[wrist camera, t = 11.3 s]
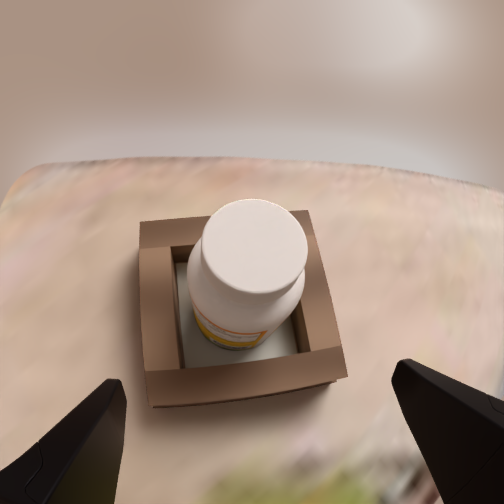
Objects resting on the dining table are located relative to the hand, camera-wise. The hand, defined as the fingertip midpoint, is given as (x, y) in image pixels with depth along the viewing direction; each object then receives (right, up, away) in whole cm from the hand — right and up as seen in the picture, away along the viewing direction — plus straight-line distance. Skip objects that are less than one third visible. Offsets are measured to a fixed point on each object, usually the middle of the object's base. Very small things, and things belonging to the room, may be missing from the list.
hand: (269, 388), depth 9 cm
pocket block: (-2, 0, +12) cm, 12 cm away
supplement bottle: (-2, 0, +11) cm, 12 cm away
